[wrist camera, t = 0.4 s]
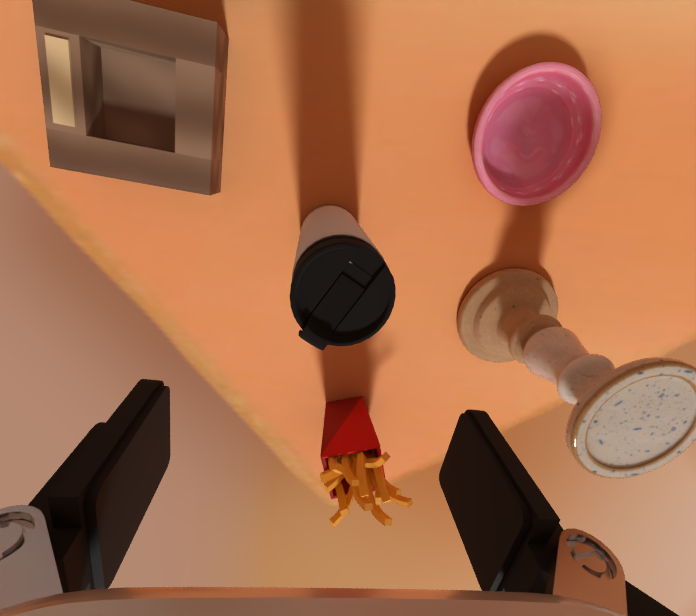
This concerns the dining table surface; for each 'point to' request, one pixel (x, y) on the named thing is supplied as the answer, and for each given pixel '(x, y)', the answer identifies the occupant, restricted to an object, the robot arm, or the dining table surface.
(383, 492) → the french fries
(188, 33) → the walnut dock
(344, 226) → the travel mug
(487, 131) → the saucer
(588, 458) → the candle holder
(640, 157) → the dining table surface
